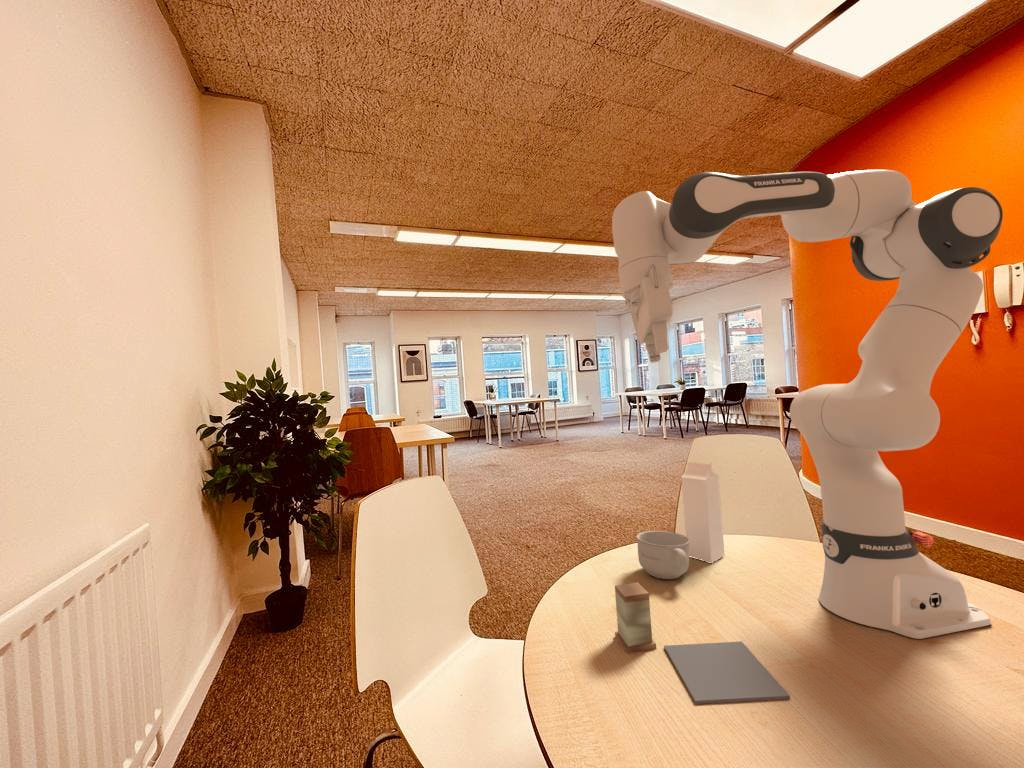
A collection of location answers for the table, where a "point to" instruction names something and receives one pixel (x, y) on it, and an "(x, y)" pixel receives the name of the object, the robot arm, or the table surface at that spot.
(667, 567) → the teacup
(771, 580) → the table surface
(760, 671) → the mat
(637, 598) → the banded square pillar
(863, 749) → the table surface
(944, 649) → the table surface
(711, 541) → the milk
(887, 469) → the robot arm
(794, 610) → the table surface
